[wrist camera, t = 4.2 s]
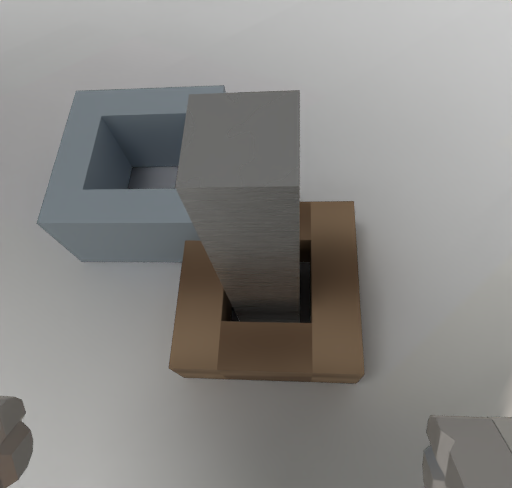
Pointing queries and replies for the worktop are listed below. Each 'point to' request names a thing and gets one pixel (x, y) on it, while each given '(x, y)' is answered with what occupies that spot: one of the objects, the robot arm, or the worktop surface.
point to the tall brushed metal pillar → (246, 196)
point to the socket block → (277, 333)
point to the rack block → (120, 176)
